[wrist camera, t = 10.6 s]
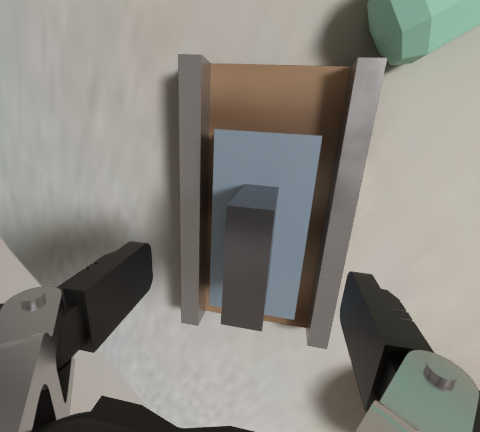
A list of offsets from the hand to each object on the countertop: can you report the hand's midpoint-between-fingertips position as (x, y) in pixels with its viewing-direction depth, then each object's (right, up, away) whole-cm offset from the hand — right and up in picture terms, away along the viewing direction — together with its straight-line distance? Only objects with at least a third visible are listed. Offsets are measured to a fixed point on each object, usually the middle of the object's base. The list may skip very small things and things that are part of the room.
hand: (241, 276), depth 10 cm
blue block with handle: (+2, +3, +10) cm, 10 cm away
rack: (+2, +3, +10) cm, 11 cm away
